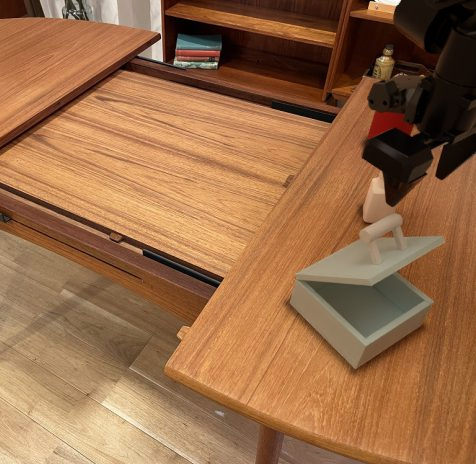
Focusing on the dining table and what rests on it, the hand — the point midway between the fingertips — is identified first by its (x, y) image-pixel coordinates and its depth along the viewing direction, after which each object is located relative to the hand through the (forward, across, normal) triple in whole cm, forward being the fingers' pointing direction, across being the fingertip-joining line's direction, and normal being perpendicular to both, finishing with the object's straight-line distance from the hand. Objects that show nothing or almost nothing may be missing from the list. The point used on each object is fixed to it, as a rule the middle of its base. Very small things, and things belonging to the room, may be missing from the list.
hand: (415, 191), depth 63 cm
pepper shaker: (+13, -6, -7) cm, 16 cm away
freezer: (+13, +11, +4) cm, 17 cm away
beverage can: (+13, -22, -19) cm, 32 cm away
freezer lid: (+4, +11, +3) cm, 12 cm away
